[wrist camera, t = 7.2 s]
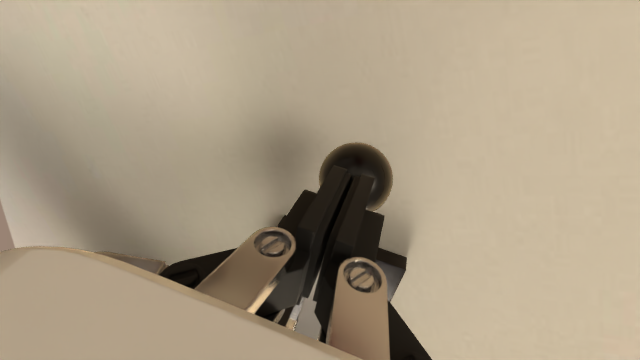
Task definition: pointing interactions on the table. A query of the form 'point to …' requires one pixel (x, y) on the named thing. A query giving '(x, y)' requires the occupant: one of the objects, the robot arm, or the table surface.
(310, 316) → the ball knob lever
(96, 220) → the table surface
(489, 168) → the table surface
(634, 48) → the table surface
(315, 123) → the table surface
